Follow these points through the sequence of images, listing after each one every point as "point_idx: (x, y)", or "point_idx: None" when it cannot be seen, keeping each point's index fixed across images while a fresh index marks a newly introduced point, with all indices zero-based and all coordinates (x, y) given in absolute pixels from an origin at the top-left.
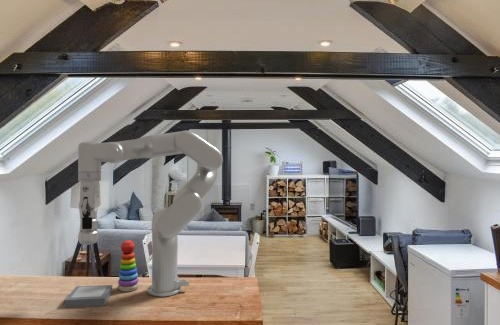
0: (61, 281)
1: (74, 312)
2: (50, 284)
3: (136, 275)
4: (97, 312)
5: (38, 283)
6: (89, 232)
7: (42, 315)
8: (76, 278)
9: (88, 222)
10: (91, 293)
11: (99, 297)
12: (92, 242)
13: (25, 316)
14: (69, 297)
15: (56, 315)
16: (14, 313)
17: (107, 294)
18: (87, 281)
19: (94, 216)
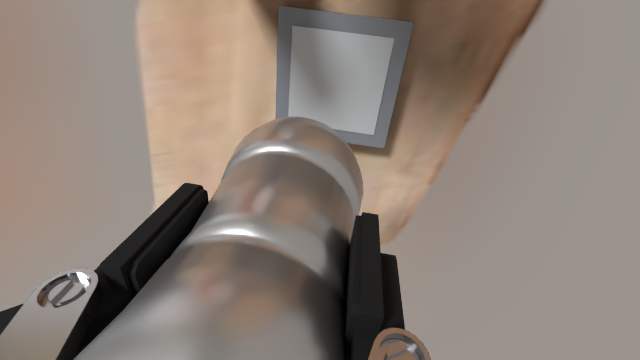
0: (189, 172)
1: (430, 109)
2: (211, 193)
3: None
4: (461, 39)
5: None
6: (351, 205)
7: (417, 180)
8: (163, 139)
9: (398, 291)
10: (354, 76)
11: (398, 43)
12: (348, 145)
13: (408, 211)
14: (366, 138)
15: (431, 151)
16: (382, 231)
17: (364, 16)
18: (187, 105)
19: (295, 291)
